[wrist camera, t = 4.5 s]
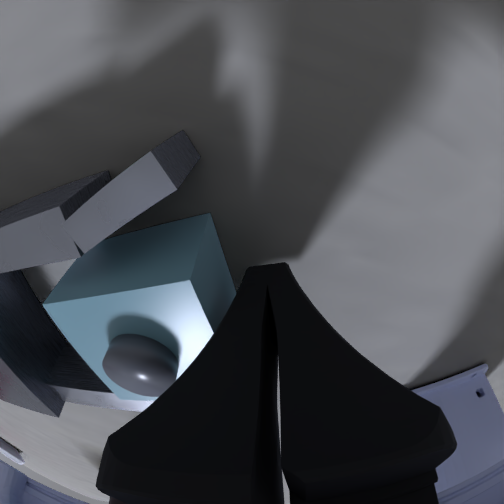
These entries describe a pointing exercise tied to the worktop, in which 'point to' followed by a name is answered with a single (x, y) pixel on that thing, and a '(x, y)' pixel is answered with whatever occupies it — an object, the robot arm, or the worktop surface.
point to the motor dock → (65, 248)
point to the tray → (10, 452)
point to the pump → (145, 304)
